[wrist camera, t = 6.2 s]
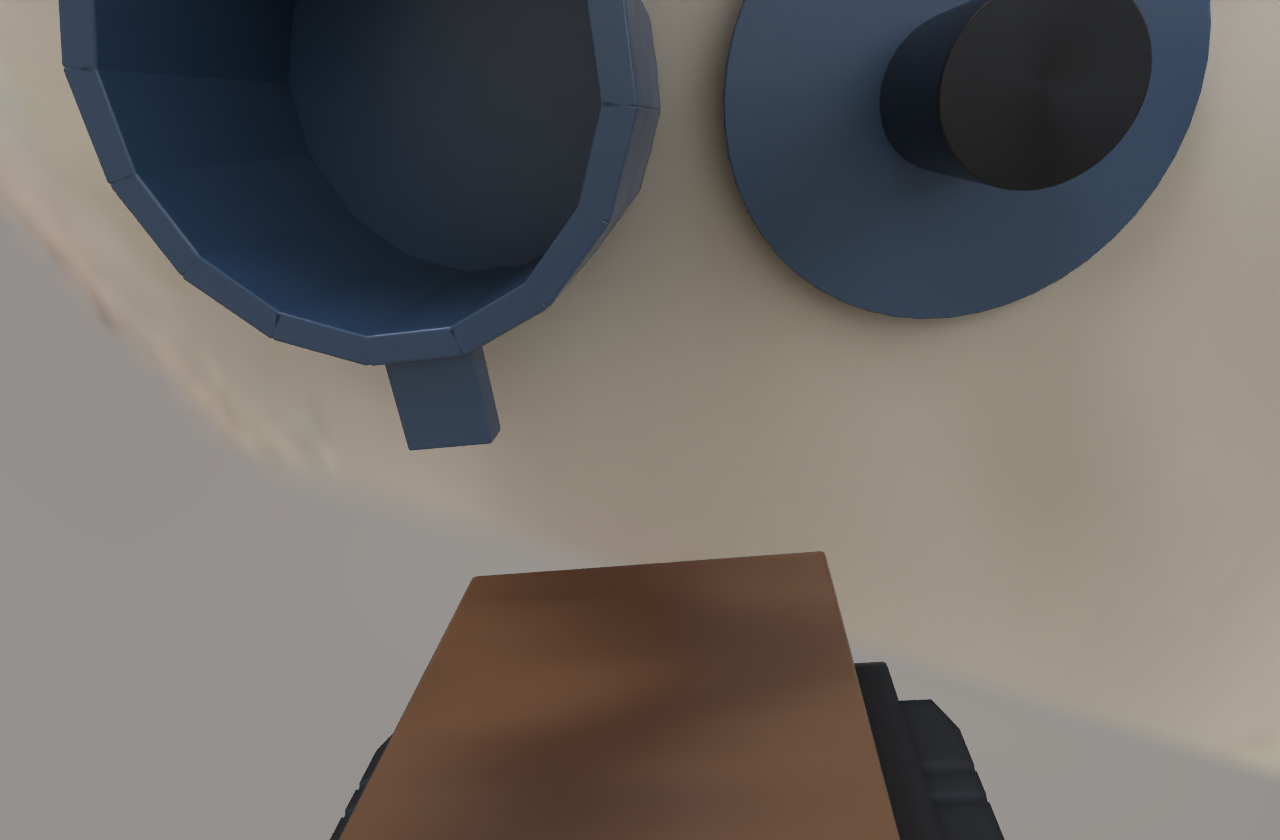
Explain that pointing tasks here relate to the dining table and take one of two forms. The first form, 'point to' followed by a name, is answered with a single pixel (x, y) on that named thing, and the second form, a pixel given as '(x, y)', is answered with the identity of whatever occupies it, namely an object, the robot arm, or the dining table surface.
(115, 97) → the pot
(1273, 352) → the dining table surface
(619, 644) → the block
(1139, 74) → the lid
